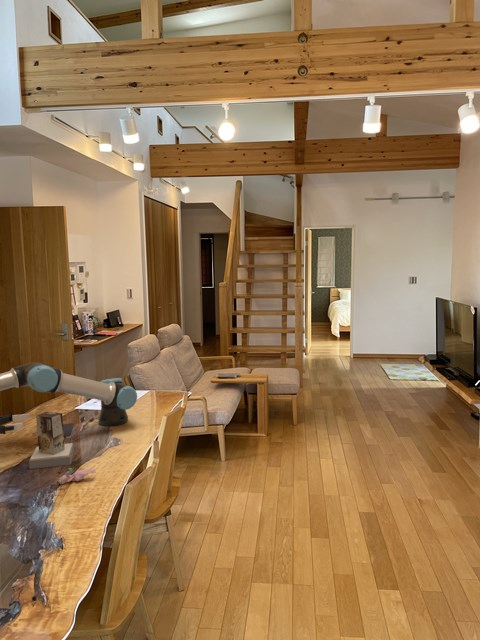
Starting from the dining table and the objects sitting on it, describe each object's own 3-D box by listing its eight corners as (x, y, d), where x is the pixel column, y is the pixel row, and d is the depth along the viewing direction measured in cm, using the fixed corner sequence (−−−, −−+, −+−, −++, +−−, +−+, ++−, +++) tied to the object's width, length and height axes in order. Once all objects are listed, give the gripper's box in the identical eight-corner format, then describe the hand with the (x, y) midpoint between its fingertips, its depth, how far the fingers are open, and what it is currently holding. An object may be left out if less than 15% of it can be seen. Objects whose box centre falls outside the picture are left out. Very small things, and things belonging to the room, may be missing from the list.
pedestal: (74, 451, 228) (73, 442, 228) (70, 464, 213) (69, 455, 212) (36, 455, 225) (35, 446, 224) (29, 469, 209) (28, 459, 209)
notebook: (49, 428, 264) (42, 441, 244) (49, 425, 264) (42, 438, 244) (74, 425, 267) (70, 439, 246) (74, 423, 267) (70, 435, 246)
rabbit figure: (56, 490, 191) (96, 478, 195) (52, 476, 190) (93, 464, 194) (57, 484, 197) (96, 472, 201) (53, 469, 196) (93, 458, 200)
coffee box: (65, 449, 219) (63, 412, 218) (54, 454, 213) (51, 417, 212) (49, 447, 223) (46, 410, 221) (38, 452, 217) (35, 415, 215)
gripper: (-20, 426, 226) (31, 421, 231) (-37, 445, 202) (21, 439, 207) (-22, 410, 225) (30, 405, 230) (-39, 427, 201) (19, 421, 206)
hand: (25, 421), depth 218 cm, fingers open, 13 cm apart
